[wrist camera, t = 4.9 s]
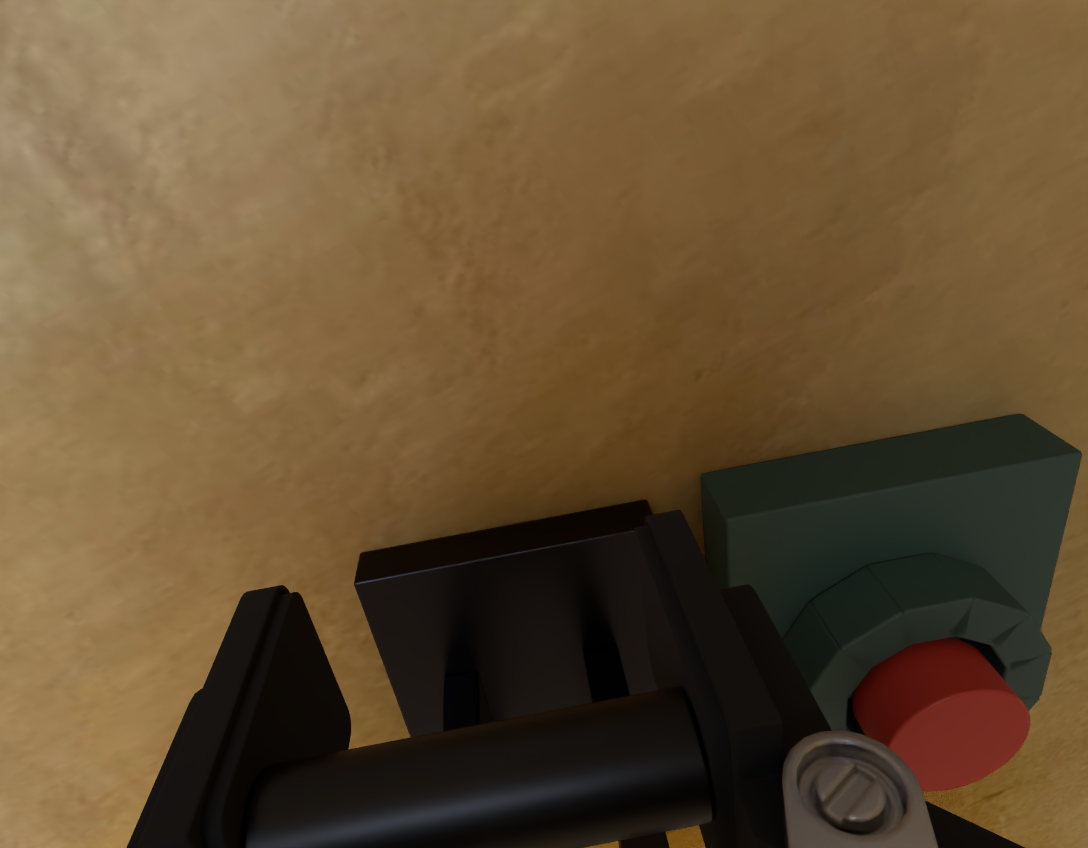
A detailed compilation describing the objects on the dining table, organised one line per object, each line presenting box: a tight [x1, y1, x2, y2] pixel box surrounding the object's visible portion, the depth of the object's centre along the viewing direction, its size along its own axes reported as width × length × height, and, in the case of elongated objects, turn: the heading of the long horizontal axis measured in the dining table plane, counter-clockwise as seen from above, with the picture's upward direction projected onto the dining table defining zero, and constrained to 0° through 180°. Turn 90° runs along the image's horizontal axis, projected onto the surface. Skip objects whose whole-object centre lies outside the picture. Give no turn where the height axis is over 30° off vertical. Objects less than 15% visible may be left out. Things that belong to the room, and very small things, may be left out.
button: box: [852, 638, 1030, 791], centre depth 18 cm, size 4×4×2 cm
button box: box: [701, 414, 1082, 736], centre depth 20 cm, size 11×9×4 cm
